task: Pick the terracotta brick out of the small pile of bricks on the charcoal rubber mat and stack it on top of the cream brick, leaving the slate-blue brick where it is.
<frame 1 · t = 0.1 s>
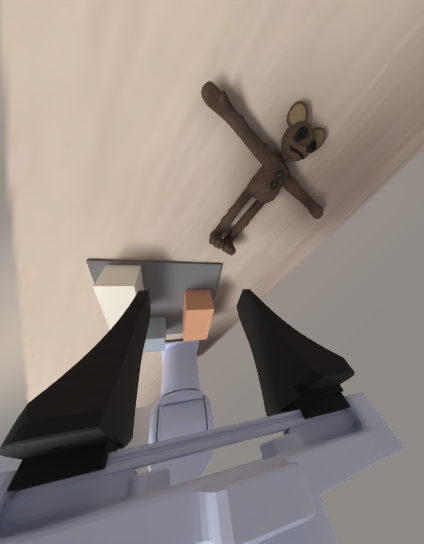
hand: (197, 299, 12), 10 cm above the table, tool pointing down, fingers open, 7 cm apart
slate brick: (142, 325, 28), resting on charcoal mat
cream brick: (128, 288, 22), resting on charcoal mat
terracotta brick: (195, 306, 27), resting on charcoal mat
charcoal mat: (162, 304, 26), on the table
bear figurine: (252, 190, 18), on the table
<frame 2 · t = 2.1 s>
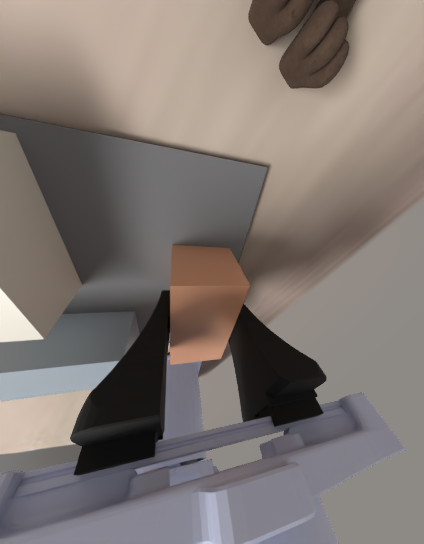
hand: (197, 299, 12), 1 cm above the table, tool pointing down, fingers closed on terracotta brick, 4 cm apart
slate brick: (87, 328, 13), resting on charcoal mat
cream brick: (10, 226, 8), resting on charcoal mat
terracotta brick: (196, 289, 13), resting on charcoal mat, touching gripper
charcoal mat: (123, 282, 12), on the table
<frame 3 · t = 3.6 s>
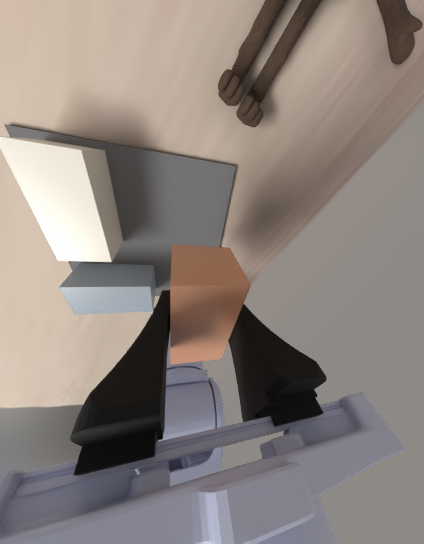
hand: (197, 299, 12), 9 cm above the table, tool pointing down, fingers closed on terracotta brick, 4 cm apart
slate brick: (121, 277, 20), resting on charcoal mat
cream brick: (91, 200, 14), resting on charcoal mat
terracotta brick: (196, 289, 13), point 8 cm above the table, touching gripper
charcoal mat: (148, 241, 18), on the table
when the fingers open (6 cm above the table, at t = 5.3 s): terracotta brick drops 1 cm, resting on cream brick.
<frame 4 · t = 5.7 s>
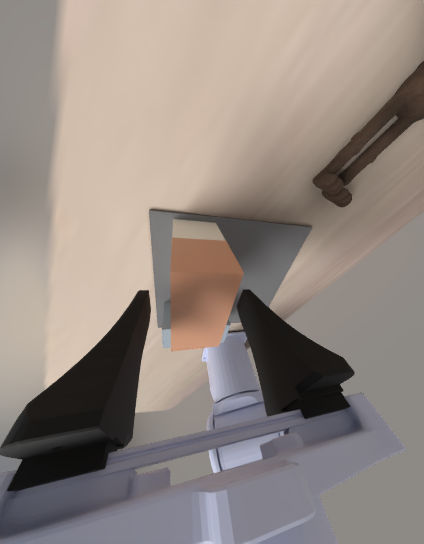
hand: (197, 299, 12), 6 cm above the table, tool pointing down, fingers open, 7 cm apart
slate brick: (193, 311, 22), resting on charcoal mat
cream brick: (191, 257, 17), resting on charcoal mat, touching terracotta brick
terracotta brick: (195, 280, 14), point 4 cm above the table, touching cream brick
charcoal mat: (223, 283, 21), on the table
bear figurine: (388, 108, 13), on the table
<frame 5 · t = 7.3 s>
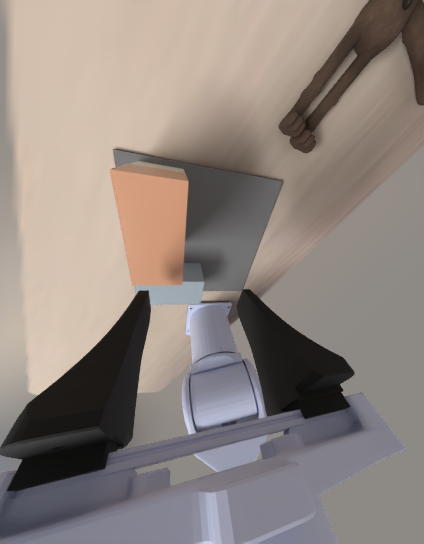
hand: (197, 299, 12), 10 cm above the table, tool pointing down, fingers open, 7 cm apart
slate brick: (171, 273, 23), resting on charcoal mat
terracotta brick: (159, 221, 14), point 4 cm above the table, touching cream brick
charcoal mat: (199, 243, 21), on the table
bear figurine: (349, 47, 13), on the table
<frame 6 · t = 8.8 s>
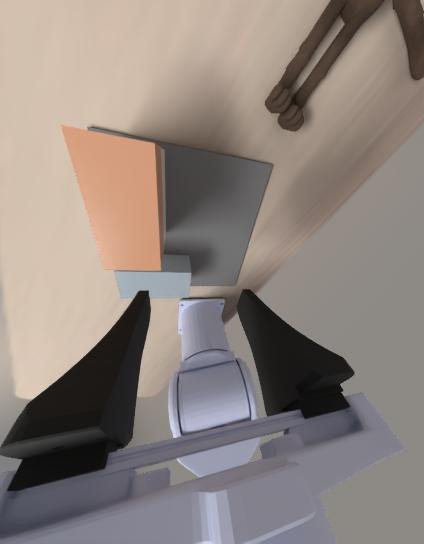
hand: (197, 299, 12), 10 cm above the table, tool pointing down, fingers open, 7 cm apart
slate brick: (158, 266, 21), resting on charcoal mat
terracotta brick: (137, 203, 13), point 4 cm above the table, touching cream brick
charcoal mat: (186, 233, 20), on the table
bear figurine: (336, 17, 12), on the table
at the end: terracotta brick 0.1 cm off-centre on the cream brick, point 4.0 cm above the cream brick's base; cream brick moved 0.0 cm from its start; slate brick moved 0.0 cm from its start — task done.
